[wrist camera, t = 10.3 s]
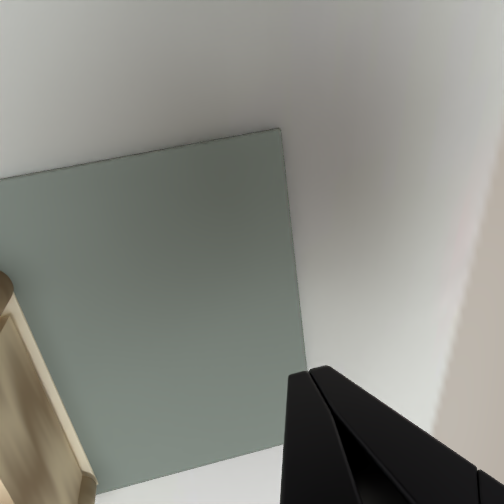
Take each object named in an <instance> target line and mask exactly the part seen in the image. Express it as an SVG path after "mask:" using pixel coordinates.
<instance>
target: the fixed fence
mask: <svg viewBox="0 0 504 504" xmlns="http://www.w3.org/2000/svg"><path fill="white" fill-rule="evenodd" d="M13 291H14V287H13V284H12V281H11V280H10V278H9V277H8V276H7V275H6V274H5V273H3V272H2V271H0V316H1V314H2V313H3V311H4V309H5V307H6V306H7V304H8V302H9V300H10V299H11V297H12V294H13Z"/></svg>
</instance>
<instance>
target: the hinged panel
mask: <svg viewBox="0 0 504 504" xmlns="http://www.w3.org/2000/svg"><path fill="white" fill-rule="evenodd" d="M96 488H97V485H96V482H95V481H94V480H93V479H92V478H90V477H88V476H84V475H82V473H81V471H80V469H79V467H78V465H77V462H76V460H75V458H74V456H73V454H72V451H71V449H70V447H69V445H68V443H67V440H66V438H65V436H64V434H63V432H62V429H61V427H60V425H59V423H58V421H57V418H56V416H55V414H54V412H53V410H52V407H51V405H50V403H49V401H48V399H47V396H46V394H45V392H44V390H43V388H42V385H41V383H40V381H39V379H38V377H37V374H36V372H35V370H34V368H33V366H32V363H31V361H30V359H29V357H28V355H27V352H26V350H25V348H24V346H23V344H22V341H21V339H20V337H19V335H18V333H17V331H16V328H15V326H14V324H13V322H12V320H11V317H10V316H6V317H1V318H0V504H94V503H95V496H96Z"/></svg>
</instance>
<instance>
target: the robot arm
mask: <svg viewBox="0 0 504 504" xmlns="http://www.w3.org/2000/svg"><path fill="white" fill-rule="evenodd" d="M280 504H504V485H503V484H501V483H500V482H498V481H497V480H495V479H494V478H492V477H491V476H490V475H488V474H487V473H485V472H483V471H482V470H478V471H477V467H476V466H475V465H473V464H472V463H470V462H469V461H467V460H466V459H464V458H463V457H461V456H460V455H458V454H457V453H456V452H454V451H453V450H451V449H450V448H448V447H447V446H446V445H444V444H443V443H441V442H440V441H438V440H437V439H435V438H434V437H432V436H431V435H429V434H428V433H427V432H425V431H424V430H422V429H421V428H419V427H418V426H416V425H415V424H413V423H412V422H411V421H409V420H408V419H406V418H405V417H403V416H402V415H400V414H399V413H397V412H396V411H394V410H393V409H392V408H390V407H389V406H387V405H386V404H384V403H383V402H381V401H380V400H378V399H377V398H375V397H374V396H373V395H371V394H370V393H368V392H367V391H365V390H364V389H362V388H361V387H359V386H358V385H356V384H355V383H354V382H352V381H351V380H349V379H348V378H346V377H345V376H343V375H342V374H340V373H339V372H338V371H336V370H335V369H333V368H332V367H330V366H327V365H325V366H321V367H317V368H313V369H310V371H309V372H307V371H301V372H297V373H293V374H290V375H289V376H288V384H287V399H286V415H285V431H284V447H283V463H282V478H281V494H280Z"/></svg>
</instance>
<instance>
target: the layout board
mask: <svg viewBox="0 0 504 504" xmlns="http://www.w3.org/2000/svg"><path fill="white" fill-rule="evenodd" d="M0 271H2V272H3V273H5V274H6V275H7V276H8V277H9V278H10V280H11V281H12V284H13V287H14V291H13V294H12V297H11V299H10V300H9V302H8V304H7V306H6V307H5V309H4V311H3V313H2V314H1V316H0V318H1V317H6V316H10V317H11V320H12V322H13V324H14V326H15V328H16V331H17V333H18V335H19V337H20V339H21V341H22V344H23V346H24V348H25V350H26V352H27V355H28V357H29V359H30V361H31V363H32V366H33V368H34V370H35V372H36V374H37V377H38V379H39V381H40V383H41V385H42V388H43V390H44V392H45V394H46V396H47V399H48V401H49V403H50V405H51V407H52V410H53V412H54V414H55V416H56V418H57V421H58V423H59V425H60V427H61V429H62V432H63V434H64V436H65V438H66V440H67V443H68V445H69V447H70V449H71V451H72V454H73V456H74V458H75V460H76V462H77V465H78V467H79V469H80V471H81V473H82V475H84V476H88V477H90V478H92V479H93V480H94V481H95V482H96V485H97V488H96V495H97V494H101V493H105V492H108V491H112V490H116V489H119V488H123V487H127V486H130V485H134V484H138V483H142V482H145V481H149V480H153V479H156V478H160V477H164V476H168V475H171V474H175V473H179V472H182V471H186V470H190V469H194V468H197V467H201V466H205V465H208V464H212V463H216V462H219V461H223V460H227V459H231V458H234V457H238V456H242V455H245V454H249V453H253V452H257V451H260V450H264V449H268V448H271V447H275V446H279V445H282V444H284V431H285V415H286V399H287V384H288V376H289V375H290V374H293V373H297V372H301V371H307V365H306V356H305V347H304V338H303V329H302V320H301V311H300V302H299V292H298V283H297V274H296V265H295V256H294V247H293V238H292V229H291V219H290V210H289V201H288V192H287V183H286V174H285V165H284V156H283V147H282V137H281V130H280V129H279V128H276V129H271V130H266V131H260V132H255V133H249V134H244V135H238V136H233V137H227V138H222V139H217V140H211V141H206V142H200V143H195V144H189V145H184V146H179V147H173V148H168V149H162V150H157V151H151V152H146V153H140V154H135V155H130V156H124V157H119V158H113V159H108V160H102V161H97V162H91V163H86V164H81V165H75V166H70V167H64V168H59V169H53V170H48V171H43V172H37V173H32V174H26V175H21V176H15V177H10V178H4V179H0Z"/></svg>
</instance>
